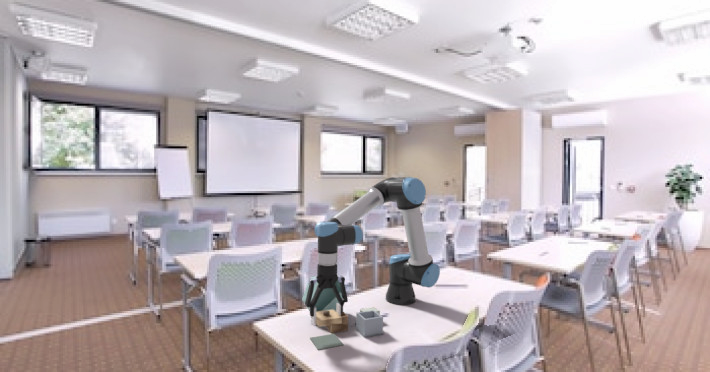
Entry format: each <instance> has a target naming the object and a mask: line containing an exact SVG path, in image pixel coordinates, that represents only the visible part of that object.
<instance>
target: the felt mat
mask: <svg viewBox="0 0 710 372" xmlns="http://www.w3.org/2000/svg"><path fill="white" fill-rule="evenodd" d="M309 340H310V341H311V342H312V344H313V345H314V347H315V348H316V349H317V350H318V351H320V350H325V349H332V348H336V347H337V348H338V347H341V346H342V347H343V346H344V343H343V342H342V341H341V340H340V338H339V337H338V336H337V335H336V334H335V333H329V334H324V335H318V336H317V335H316V336H313V337H309Z"/></svg>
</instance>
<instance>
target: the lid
mask: <svg viewBox="0 0 710 372" xmlns="http://www.w3.org/2000/svg"><path fill="white" fill-rule="evenodd" d="M310 317H311V316H310ZM311 319H312V317H311ZM341 323H342V317H341V316H340V315H339V314H338V313H337V312H336V311H335V310H334V309H332V310H325V311H318V312H316V326H317V327H318V328H320V327H321V328H322V327H326V326H328V325H334V324H341Z"/></svg>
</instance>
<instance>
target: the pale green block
mask: <svg viewBox="0 0 710 372" xmlns="http://www.w3.org/2000/svg"><path fill="white" fill-rule="evenodd" d="M371 310H374V311H376V312H377V313H378V314H380V315H381V310H380V309H378V308H376V307H375V306H372V307H371V306H370V307H368V308H366V307H365V308H362V309H359V312H365V311H371Z"/></svg>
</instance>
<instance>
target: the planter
mask: <svg viewBox="0 0 710 372" xmlns="http://www.w3.org/2000/svg"><path fill="white" fill-rule="evenodd" d="M316 277H317V275H315V276H310V277H309V279H316ZM335 285H336V287H337V290H338V292H339V294H340V296H341V298H342V294H341V289H340V284H339V281H338V280H337V282H336V283H335ZM317 287H318V283H317V282H316V284H315V285H314V290H313V294H312V298H313V296H314V294H315V292H316V290H317ZM308 288H309V280H308V282H307V285H306V288H305V290H304V293H303V295H302V299H301V301H302V302H303V304H304V305H305V301H306V297H307V292H308ZM346 294H347V295H348V292H347V291H346ZM342 299H343V298H342ZM311 300H312V299H311ZM336 303H339V302H338V300H337V298H336V296H335V294H334V292H333V290H332V288H327V289H323V291H322V292H321V294H320V296H319V299H318V301H317V303H316V305H315V307H316V312H318V311H325V310H332V309H334V310H335V311H336ZM305 306H306V305H305ZM306 309H307V310H308V312H310V307H307V306H306Z"/></svg>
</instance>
